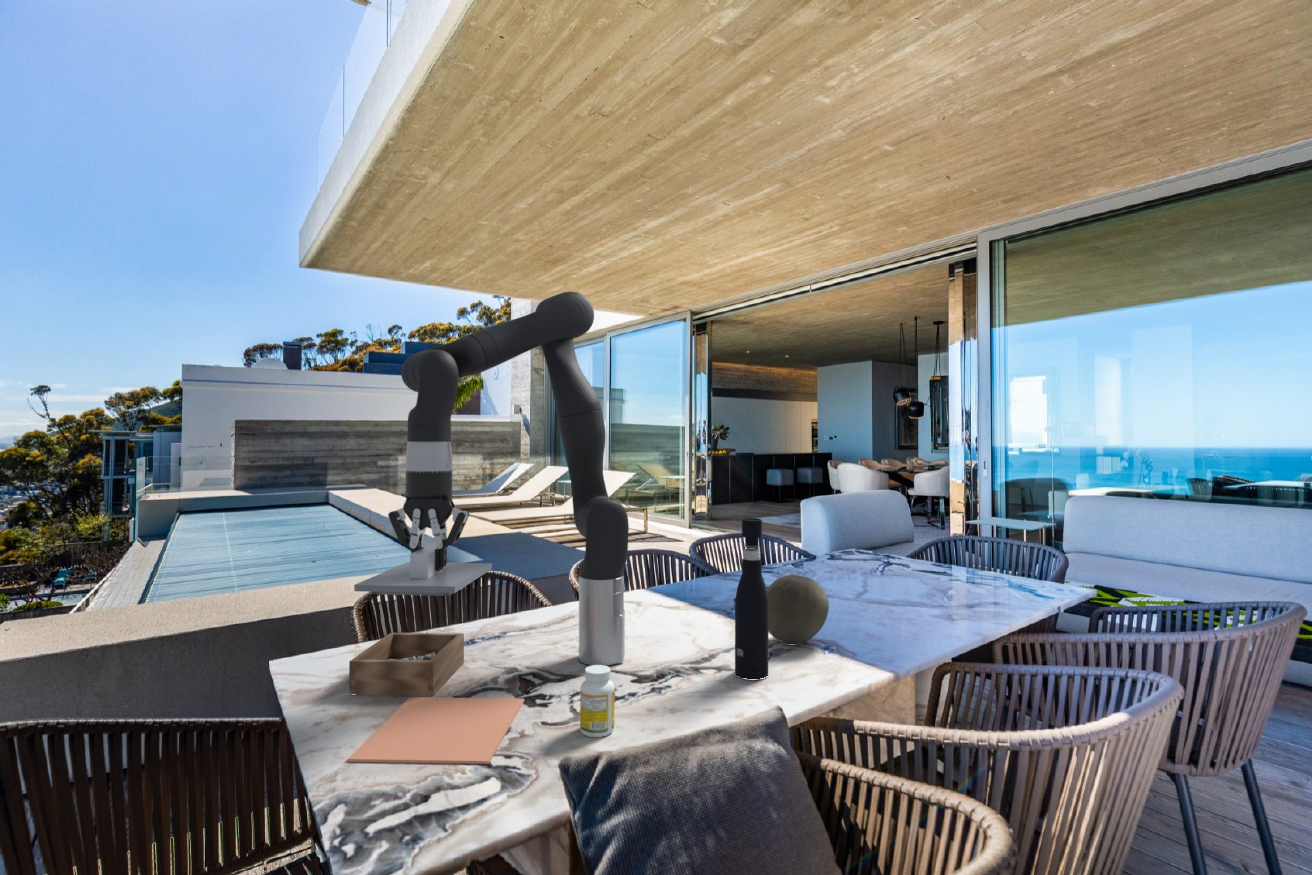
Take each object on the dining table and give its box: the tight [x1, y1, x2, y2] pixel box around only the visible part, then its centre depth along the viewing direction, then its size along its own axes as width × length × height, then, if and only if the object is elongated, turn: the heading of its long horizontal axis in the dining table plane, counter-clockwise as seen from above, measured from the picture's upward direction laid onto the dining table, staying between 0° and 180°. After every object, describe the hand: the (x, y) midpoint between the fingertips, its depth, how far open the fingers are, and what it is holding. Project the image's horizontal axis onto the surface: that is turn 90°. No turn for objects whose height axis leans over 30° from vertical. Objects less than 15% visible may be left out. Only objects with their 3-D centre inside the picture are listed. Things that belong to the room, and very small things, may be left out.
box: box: [348, 632, 465, 697], centre depth 124 cm, size 15×17×6 cm
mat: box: [347, 696, 525, 765], centre depth 103 cm, size 20×22×1 cm
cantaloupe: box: [767, 574, 830, 645], centre depth 146 cm, size 14×14×15 cm
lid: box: [353, 545, 493, 597], centre depth 112 cm, size 16×19×6 cm
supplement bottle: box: [579, 665, 616, 738], centre depth 102 cm, size 5×5×10 cm
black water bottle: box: [734, 517, 769, 679], centre depth 127 cm, size 6×6×30 cm
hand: (428, 569), depth 112 cm, fingers closed on lid, 3 cm apart
